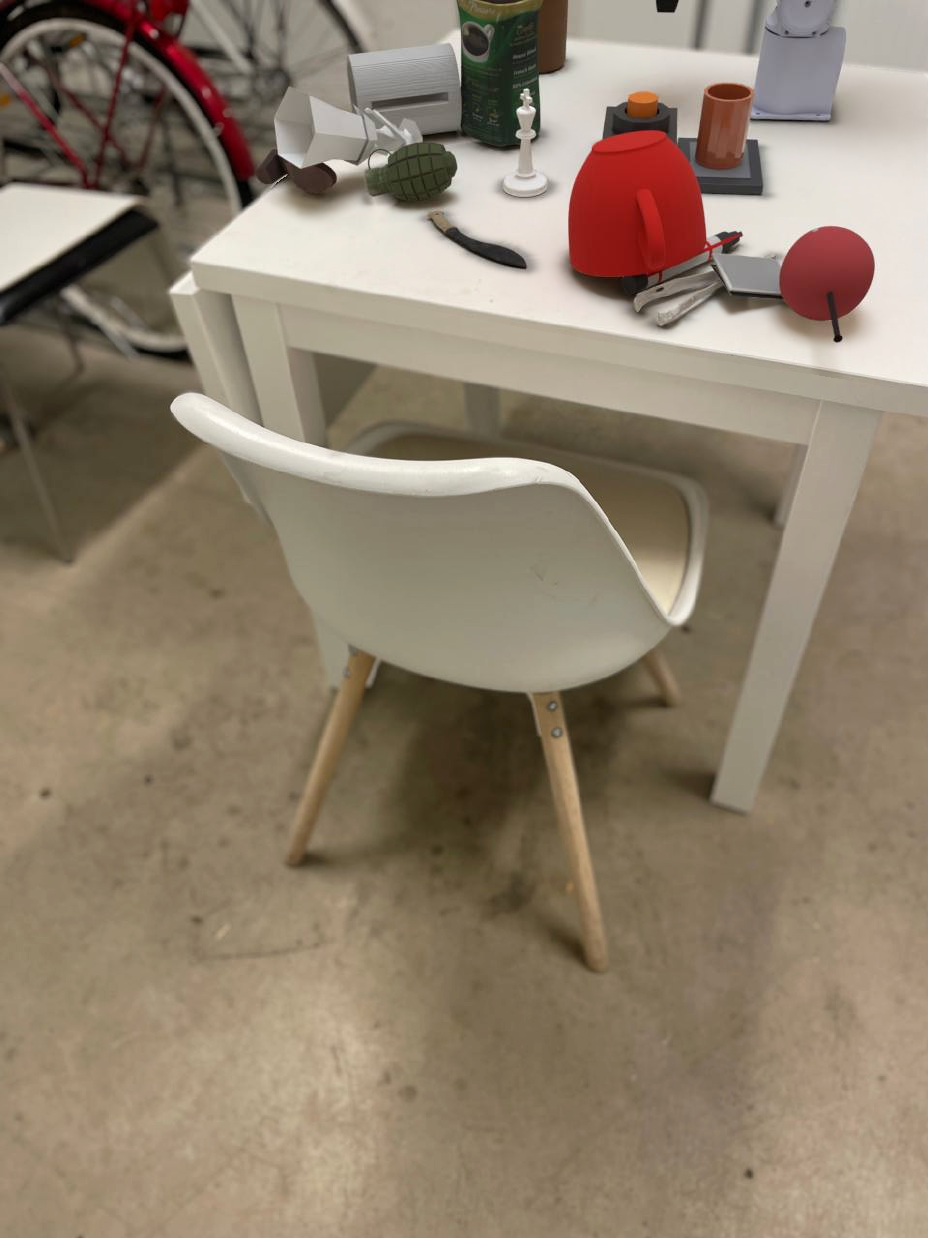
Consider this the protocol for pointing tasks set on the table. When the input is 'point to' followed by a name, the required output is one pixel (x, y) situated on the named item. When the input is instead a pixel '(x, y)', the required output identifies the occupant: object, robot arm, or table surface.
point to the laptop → (748, 275)
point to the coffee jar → (498, 67)
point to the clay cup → (723, 125)
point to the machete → (478, 243)
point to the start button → (642, 105)
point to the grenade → (413, 172)
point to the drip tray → (727, 171)
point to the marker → (713, 245)
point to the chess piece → (525, 157)
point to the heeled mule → (296, 173)
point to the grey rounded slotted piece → (408, 86)
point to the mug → (552, 35)
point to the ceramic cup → (635, 207)
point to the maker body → (640, 121)
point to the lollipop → (827, 274)
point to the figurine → (334, 132)
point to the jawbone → (678, 286)
